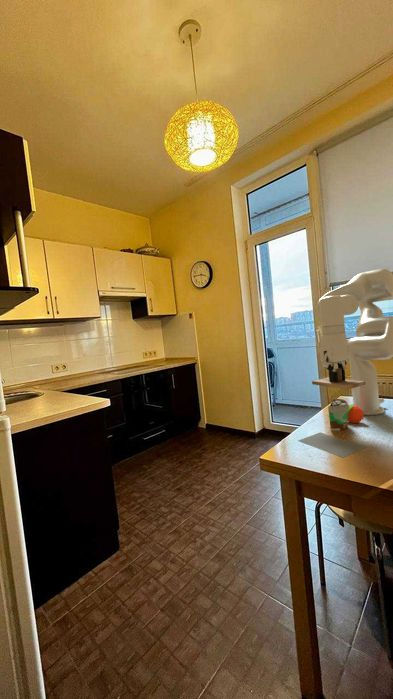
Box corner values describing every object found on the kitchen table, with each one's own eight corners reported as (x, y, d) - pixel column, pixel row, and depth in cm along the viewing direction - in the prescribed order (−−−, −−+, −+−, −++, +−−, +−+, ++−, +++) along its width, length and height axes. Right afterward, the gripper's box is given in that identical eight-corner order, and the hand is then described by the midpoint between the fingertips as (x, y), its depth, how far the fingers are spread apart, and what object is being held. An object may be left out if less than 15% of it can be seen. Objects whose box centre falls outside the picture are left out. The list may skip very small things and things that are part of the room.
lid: (328, 380, 114) (327, 365, 113) (365, 384, 100) (364, 368, 100) (312, 384, 110) (311, 369, 109) (348, 389, 96) (347, 372, 96)
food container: (349, 436, 99) (347, 407, 99) (330, 434, 102) (328, 406, 102) (352, 424, 110) (350, 398, 109) (334, 422, 113) (332, 397, 112)
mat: (320, 434, 103) (320, 432, 103) (366, 449, 88) (366, 446, 88) (297, 442, 98) (297, 440, 98) (343, 460, 83) (342, 457, 83)
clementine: (359, 427, 105) (357, 408, 105) (339, 424, 110) (337, 406, 110) (367, 421, 110) (365, 403, 110) (347, 418, 116) (346, 401, 115)
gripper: (339, 329, 111) (343, 376, 112) (308, 333, 103) (313, 384, 104) (357, 328, 104) (361, 378, 105) (326, 332, 97) (331, 386, 98)
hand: (337, 380), depth 105 cm, fingers closed on lid, 3 cm apart
